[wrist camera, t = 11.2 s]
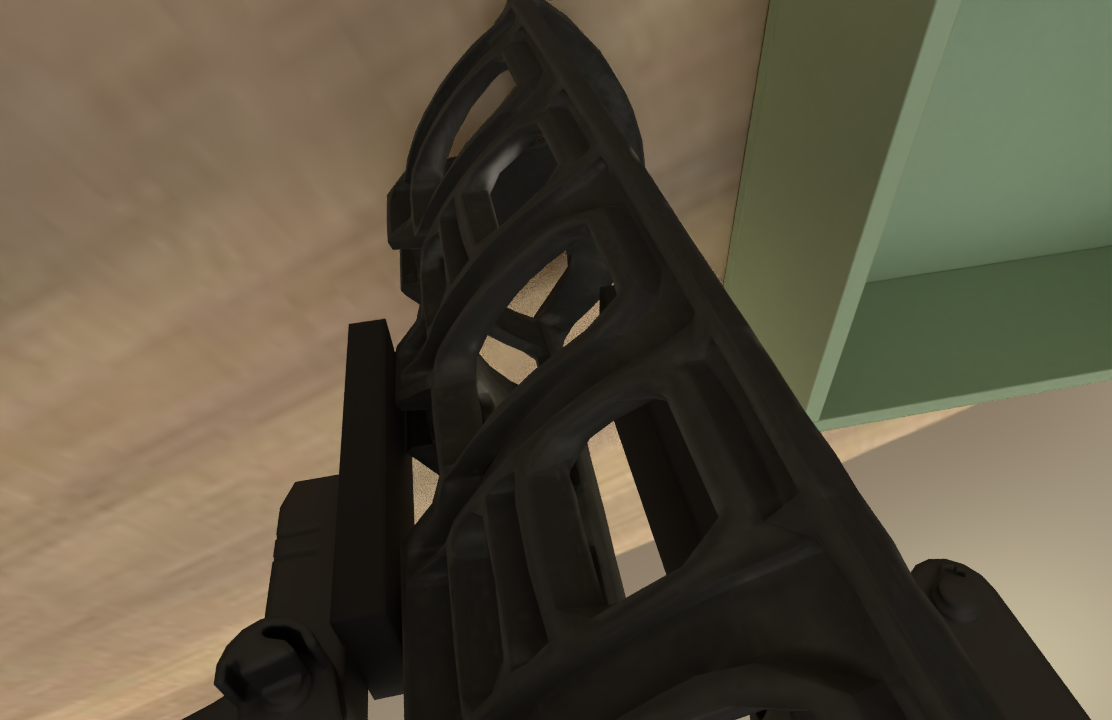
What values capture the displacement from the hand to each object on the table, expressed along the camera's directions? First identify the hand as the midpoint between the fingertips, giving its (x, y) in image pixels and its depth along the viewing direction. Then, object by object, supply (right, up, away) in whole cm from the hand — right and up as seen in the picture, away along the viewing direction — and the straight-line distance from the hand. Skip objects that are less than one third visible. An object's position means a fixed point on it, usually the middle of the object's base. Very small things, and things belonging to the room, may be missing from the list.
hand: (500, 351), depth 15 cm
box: (+17, +9, +8) cm, 21 cm away
